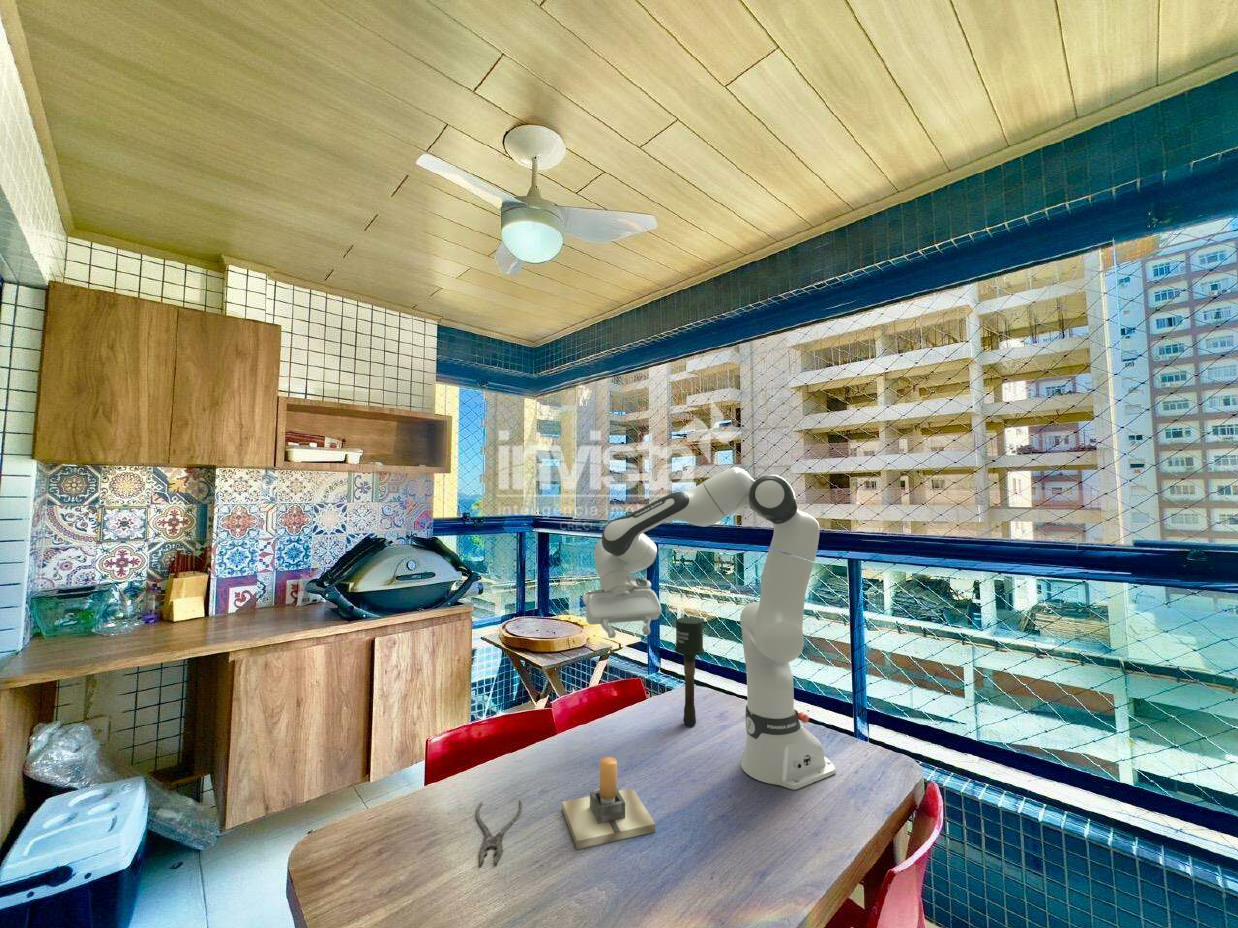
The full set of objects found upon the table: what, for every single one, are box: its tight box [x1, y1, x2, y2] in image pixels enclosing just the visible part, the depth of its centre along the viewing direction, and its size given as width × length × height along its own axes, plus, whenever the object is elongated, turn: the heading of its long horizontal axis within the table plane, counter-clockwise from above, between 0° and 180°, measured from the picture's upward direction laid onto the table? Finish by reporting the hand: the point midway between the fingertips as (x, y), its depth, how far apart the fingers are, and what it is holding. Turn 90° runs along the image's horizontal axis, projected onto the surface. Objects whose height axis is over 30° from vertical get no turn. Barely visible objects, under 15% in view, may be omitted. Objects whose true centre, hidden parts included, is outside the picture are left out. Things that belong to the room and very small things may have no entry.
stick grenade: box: [674, 616, 705, 728], centre depth 149 cm, size 8×9×30 cm
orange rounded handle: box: [598, 756, 618, 805], centre depth 105 cm, size 4×4×10 cm
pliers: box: [475, 799, 523, 868], centre depth 101 cm, size 10×1×20 cm
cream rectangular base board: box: [561, 787, 656, 850], centre depth 104 cm, size 16×13×4 cm
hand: (630, 635), depth 128 cm, fingers open, 8 cm apart
